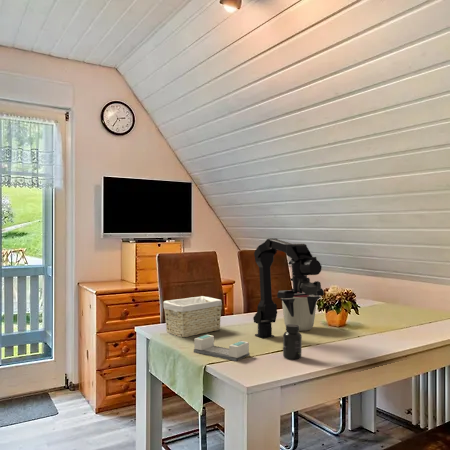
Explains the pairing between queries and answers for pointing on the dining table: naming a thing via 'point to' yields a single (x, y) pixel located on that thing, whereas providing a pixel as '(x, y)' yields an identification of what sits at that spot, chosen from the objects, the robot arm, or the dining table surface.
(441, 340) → the dining table surface
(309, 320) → the canister
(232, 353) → the module pair
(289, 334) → the supplement bottle
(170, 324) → the storage basket
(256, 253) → the robot arm
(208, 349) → the rail plate
